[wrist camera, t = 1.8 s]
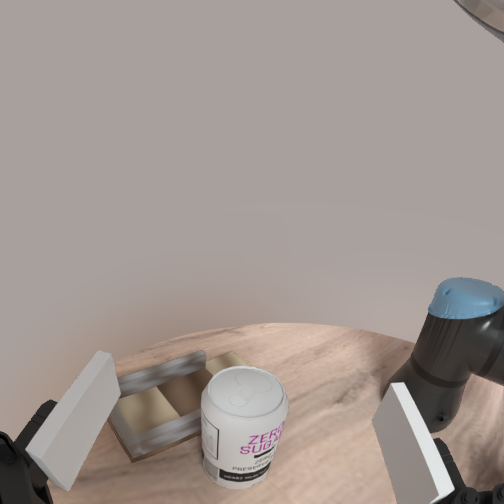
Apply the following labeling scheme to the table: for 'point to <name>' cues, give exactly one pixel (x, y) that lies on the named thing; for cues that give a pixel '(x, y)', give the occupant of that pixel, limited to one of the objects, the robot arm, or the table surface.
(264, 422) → the supplement can
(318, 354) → the table surface
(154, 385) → the rectangular tray
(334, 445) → the table surface
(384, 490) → the table surface
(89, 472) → the table surface
